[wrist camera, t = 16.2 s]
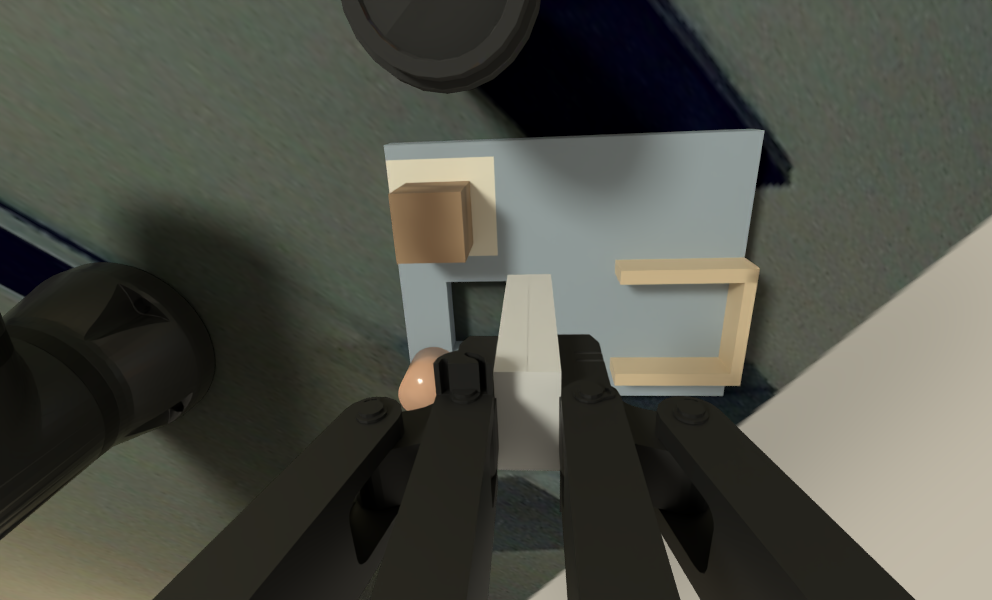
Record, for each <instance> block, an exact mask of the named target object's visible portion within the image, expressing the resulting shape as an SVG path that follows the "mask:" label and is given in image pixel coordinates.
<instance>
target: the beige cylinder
mask: <svg viewBox="0 0 992 600" xmlns="http://www.w3.org/2000/svg"><path fill="white" fill-rule="evenodd" d="M445 353H449V351H447V350H445V349H443V348H439V347H428V348H424V349H422V350H420V351H419V352H418V353H416V355H415V356H414V357H413V359H412V362H411V364H410V366H409V368H408V370H407V372H406V374H405V376H404V379H403V381H402V383H401V385H400V388H399V399H400V402H401V404H402V406H403V407H404V408H405V409H406V410H407V411H409V410H414V409H419V408H422V407H426V406H428V405H430V404H433V403H434V400H435V397H436V387H435V378H434V368H433V363H434V362H435V360H436V359H437V358H438V357H440V356H442V355H443V354H445Z"/></svg>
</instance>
